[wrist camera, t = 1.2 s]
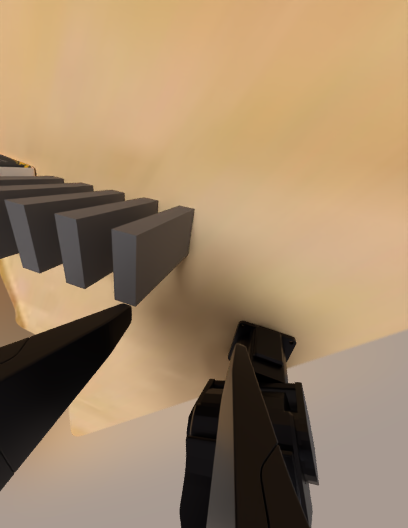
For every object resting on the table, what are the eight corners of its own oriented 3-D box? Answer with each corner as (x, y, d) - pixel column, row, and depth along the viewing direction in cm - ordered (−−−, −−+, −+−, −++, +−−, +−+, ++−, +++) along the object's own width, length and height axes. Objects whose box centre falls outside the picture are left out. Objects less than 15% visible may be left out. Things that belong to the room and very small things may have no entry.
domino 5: (187, 254, 22) (135, 306, 13) (174, 250, 22) (114, 299, 14) (194, 209, 20) (136, 235, 11) (179, 205, 20) (111, 229, 11)
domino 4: (155, 245, 23) (84, 288, 14) (143, 241, 23) (66, 282, 14) (158, 200, 21) (76, 219, 12) (144, 197, 21) (54, 213, 12)
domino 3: (125, 236, 23) (39, 273, 15) (113, 233, 24) (23, 267, 15) (124, 192, 21) (23, 204, 12) (111, 189, 22) (4, 199, 13)
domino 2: (96, 228, 24) (-1, 259, 15) (85, 225, 24) (-17, 253, 16) (92, 185, 22) (-24, 192, 13) (80, 182, 22) (-41, 187, 14)
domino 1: (69, 221, 25) (-38, 246, 16) (59, 218, 25) (-53, 241, 16) (63, 178, 23) (-65, 180, 14) (52, 176, 23) (-81, 176, 14)
